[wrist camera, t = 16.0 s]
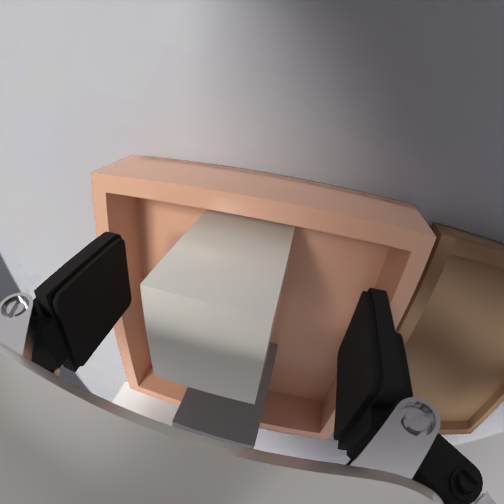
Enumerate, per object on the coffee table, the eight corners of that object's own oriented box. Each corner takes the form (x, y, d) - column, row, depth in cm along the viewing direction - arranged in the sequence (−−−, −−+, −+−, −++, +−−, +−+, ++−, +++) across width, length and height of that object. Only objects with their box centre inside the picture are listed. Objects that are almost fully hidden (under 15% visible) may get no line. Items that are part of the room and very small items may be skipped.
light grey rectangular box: (213, 201, 13) (139, 284, 8) (297, 217, 12) (273, 317, 7) (209, 278, 15) (153, 375, 9) (281, 294, 14) (254, 404, 9)
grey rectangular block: (214, 327, 16) (172, 421, 11) (278, 345, 16) (254, 446, 11) (209, 370, 18) (174, 453, 13) (263, 385, 18) (240, 473, 13)
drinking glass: (209, 408, 21) (141, 581, 9) (169, 425, 25) (108, 559, 12) (136, 356, 20) (33, 531, 7) (108, 382, 23) (28, 515, 11)
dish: (131, 154, 13) (90, 173, 10) (414, 205, 11) (436, 237, 9) (149, 356, 20) (130, 388, 17) (330, 400, 18) (327, 439, 16)
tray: (433, 222, 12) (441, 234, 11) (575, 270, 10) (585, 281, 9) (339, 414, 19) (338, 428, 18) (467, 421, 17) (470, 433, 16)
